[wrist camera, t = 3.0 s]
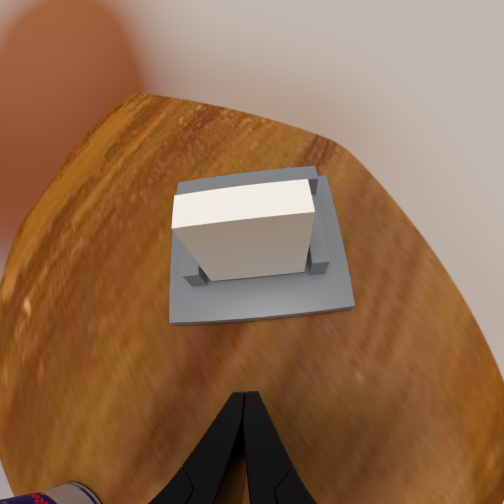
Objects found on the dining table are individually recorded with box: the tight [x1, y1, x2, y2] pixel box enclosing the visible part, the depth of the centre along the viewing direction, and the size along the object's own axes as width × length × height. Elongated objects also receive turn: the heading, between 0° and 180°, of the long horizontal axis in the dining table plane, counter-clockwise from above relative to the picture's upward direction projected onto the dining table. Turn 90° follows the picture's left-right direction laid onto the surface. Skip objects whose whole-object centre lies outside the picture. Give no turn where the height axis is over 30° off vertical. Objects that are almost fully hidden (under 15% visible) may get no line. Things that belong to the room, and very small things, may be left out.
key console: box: [169, 166, 355, 325], centre depth 21 cm, size 12×14×6 cm
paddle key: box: [172, 179, 315, 281], centre depth 17 cm, size 2×7×8 cm, turn 94°
